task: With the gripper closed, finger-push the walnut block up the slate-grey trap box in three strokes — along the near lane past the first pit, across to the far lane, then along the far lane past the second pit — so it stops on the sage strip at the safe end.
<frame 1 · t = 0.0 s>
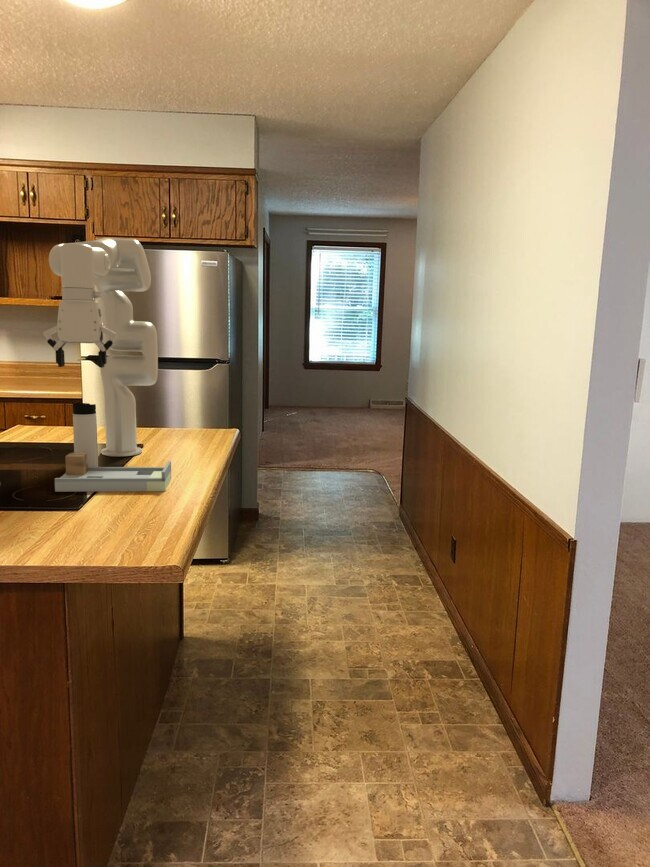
hand: (81, 366, 157), 31 cm above the countertop, tool pointing down, fingers open, 9 cm apart
trap box: (116, 484, 167), on the countertop
travel mug: (86, 471, 182), on the countertop
block: (77, 473, 169), point 2 cm above the countertop, touching trap box
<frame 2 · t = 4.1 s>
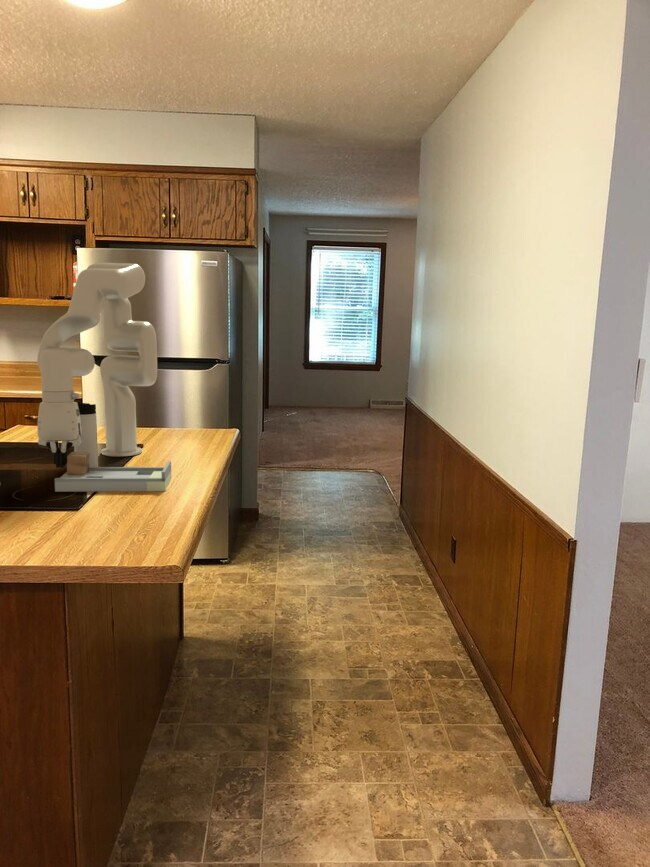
hand: (60, 466, 168), 4 cm above the countertop, tool pointing down, fingers closed
block: (78, 472, 169), point 3 cm above the countertop, touching gripper
everything else where it was.
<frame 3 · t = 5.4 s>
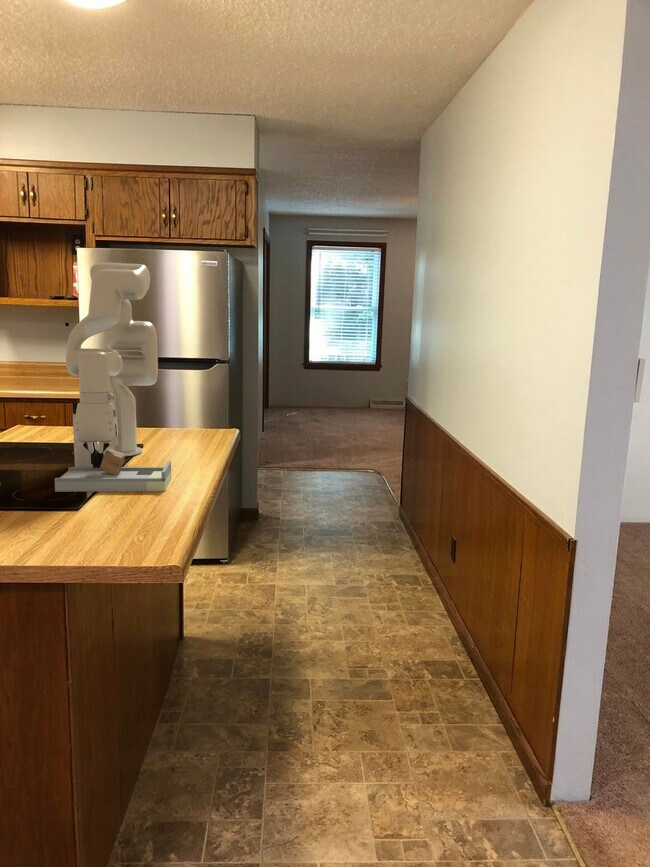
hand: (97, 466, 169), 4 cm above the countertop, tool pointing down, fingers closed
block: (109, 470, 169), point 3 cm above the countertop, tilted 19°, touching gripper
everything else where it was.
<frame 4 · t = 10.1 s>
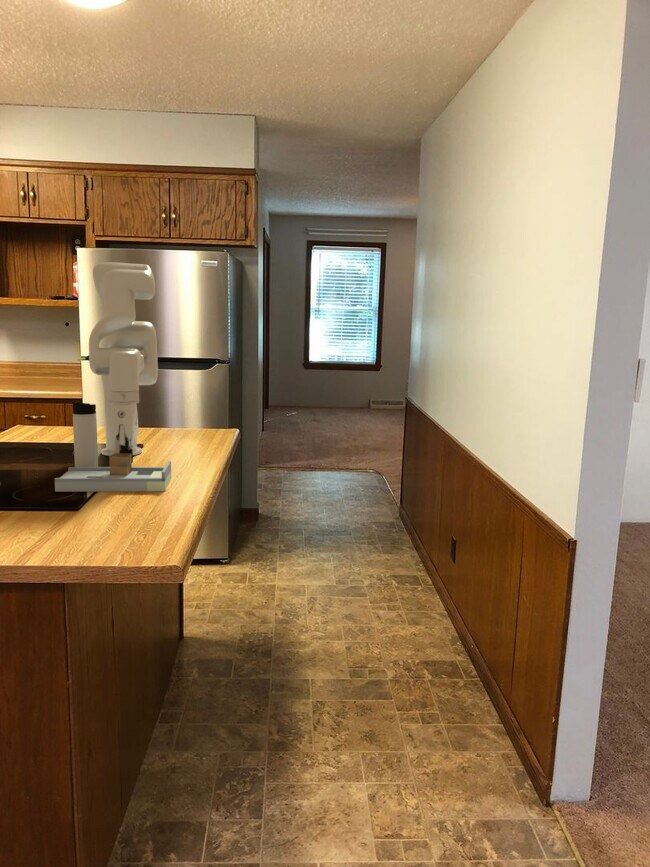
hand: (126, 463, 174), 4 cm above the countertop, tool pointing down, fingers closed
block: (121, 473, 169), point 2 cm above the countertop, touching gripper, trap box
everything else where it was.
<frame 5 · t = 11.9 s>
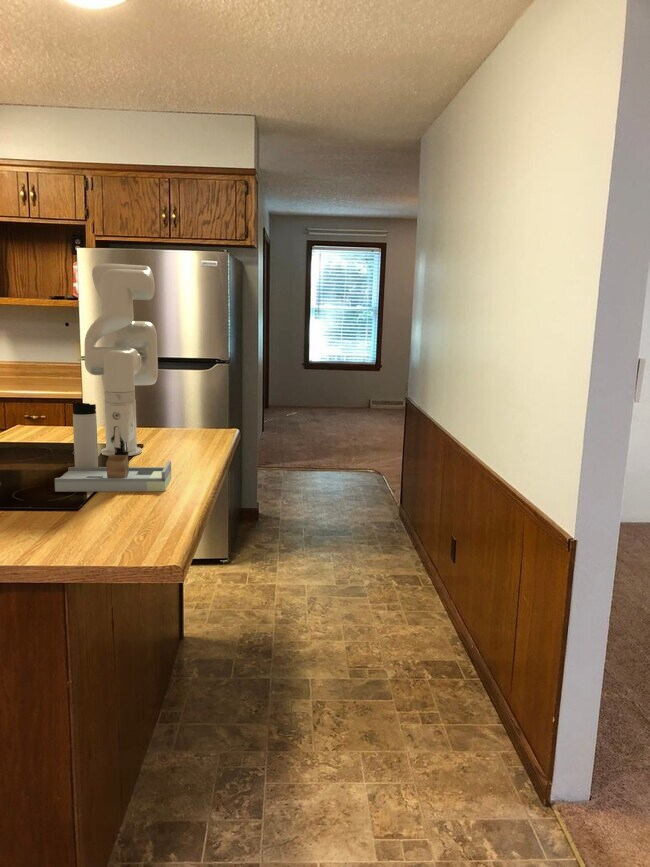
hand: (121, 466, 168), 5 cm above the countertop, tool pointing down, fingers closed
block: (118, 476, 165), point 3 cm above the countertop, tilted 12°, touching gripper, trap box
everything else where it was.
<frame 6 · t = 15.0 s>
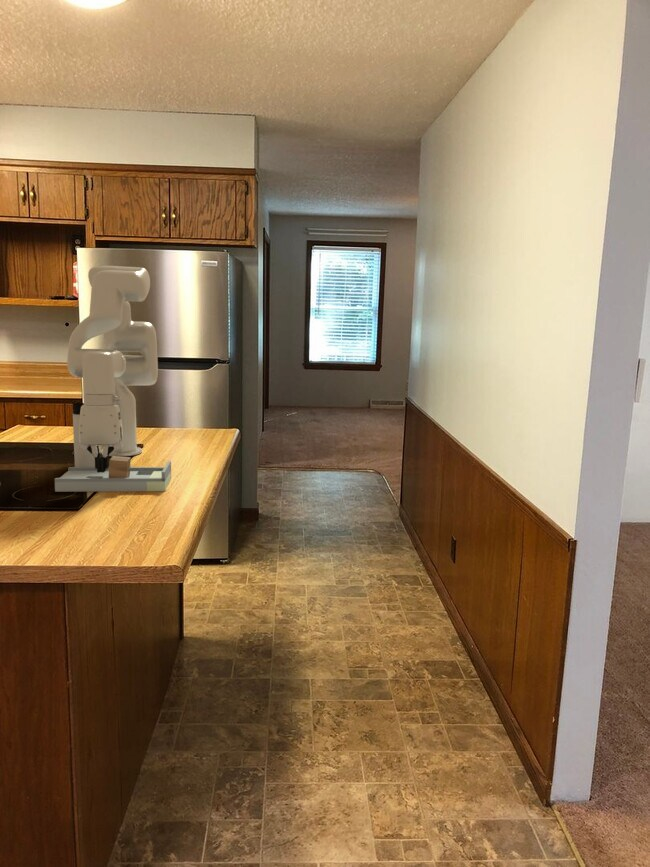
hand: (101, 471, 163), 4 cm above the countertop, tool pointing down, fingers closed
block: (119, 477, 165), point 3 cm above the countertop, touching gripper, trap box
everything else where it was.
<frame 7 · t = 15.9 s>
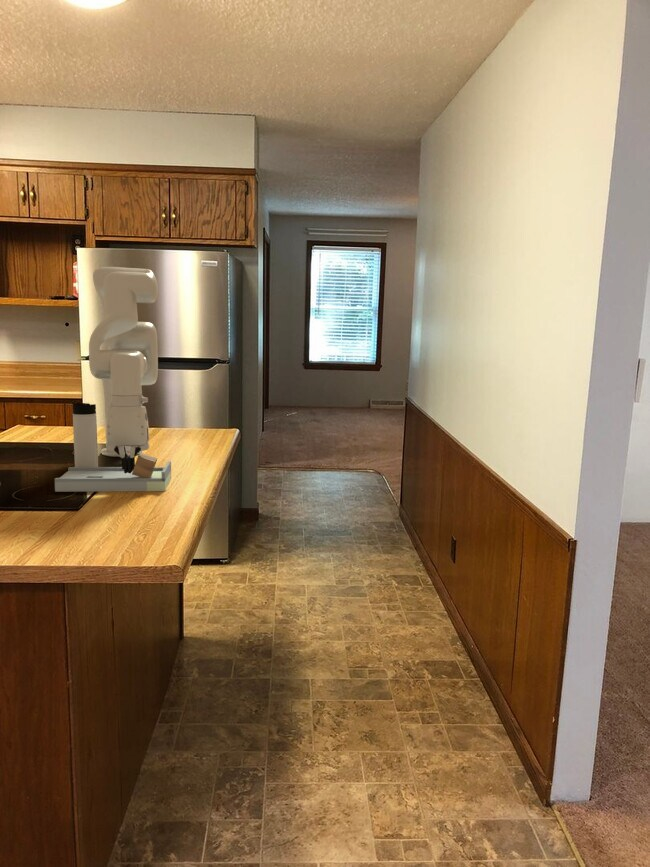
hand: (128, 471, 164), 4 cm above the countertop, tool pointing down, fingers closed
block: (141, 475, 165), point 3 cm above the countertop, tilted 19°, touching gripper
everything else where it was.
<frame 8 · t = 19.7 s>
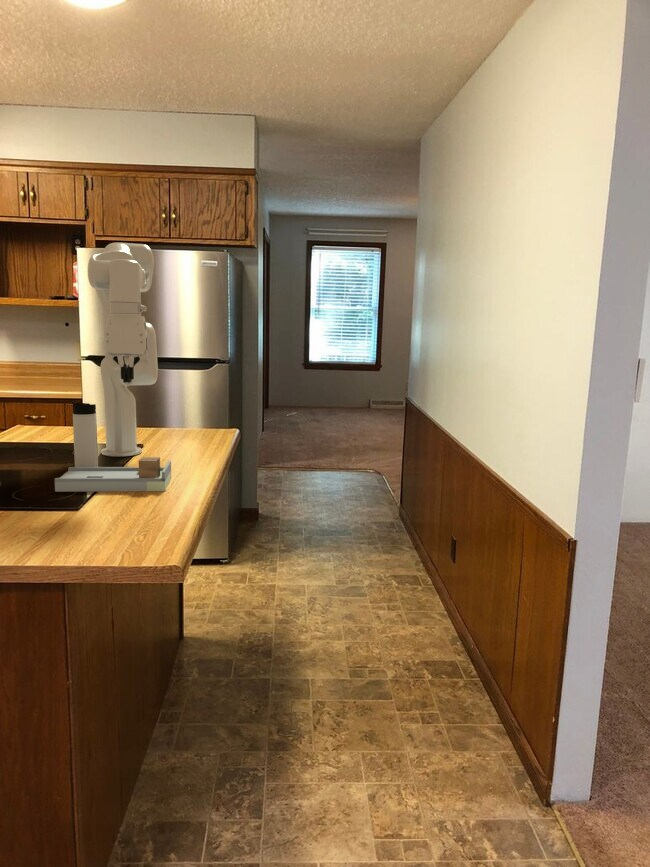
hand: (127, 382, 164), 27 cm above the countertop, tool pointing down, fingers closed
block: (149, 477, 166), point 2 cm above the countertop, touching trap box
everything else where it was.
at the end: block 1.4 cm from the target spot, point 2.5 cm above the countertop; block tilted 0° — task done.
